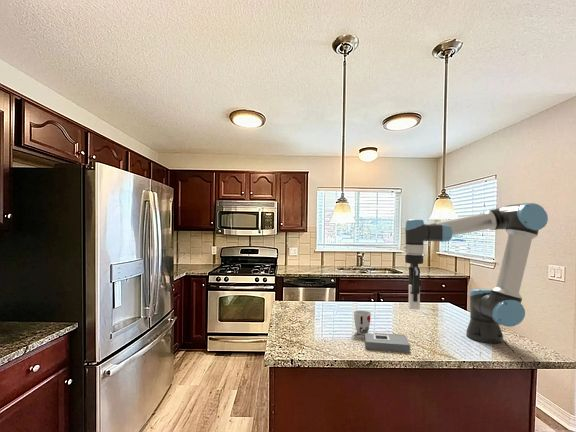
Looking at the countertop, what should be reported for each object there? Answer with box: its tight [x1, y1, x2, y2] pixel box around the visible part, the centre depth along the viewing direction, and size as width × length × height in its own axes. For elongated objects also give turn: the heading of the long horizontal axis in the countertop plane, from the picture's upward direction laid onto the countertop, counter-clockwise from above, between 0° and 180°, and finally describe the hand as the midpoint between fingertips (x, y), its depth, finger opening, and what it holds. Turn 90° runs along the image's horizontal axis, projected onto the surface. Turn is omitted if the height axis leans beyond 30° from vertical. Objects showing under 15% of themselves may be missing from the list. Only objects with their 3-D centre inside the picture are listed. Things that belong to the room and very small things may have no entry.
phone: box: [374, 332, 406, 336], centre depth 157 cm, size 14×7×1 cm, turn 79°
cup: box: [353, 310, 372, 336], centre depth 163 cm, size 8×8×10 cm
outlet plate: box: [364, 332, 411, 353], centre depth 146 cm, size 18×12×3 cm, turn 79°
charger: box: [408, 284, 421, 311], centre depth 145 cm, size 4×4×10 cm
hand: (413, 307), depth 145 cm, fingers closed on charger, 4 cm apart
